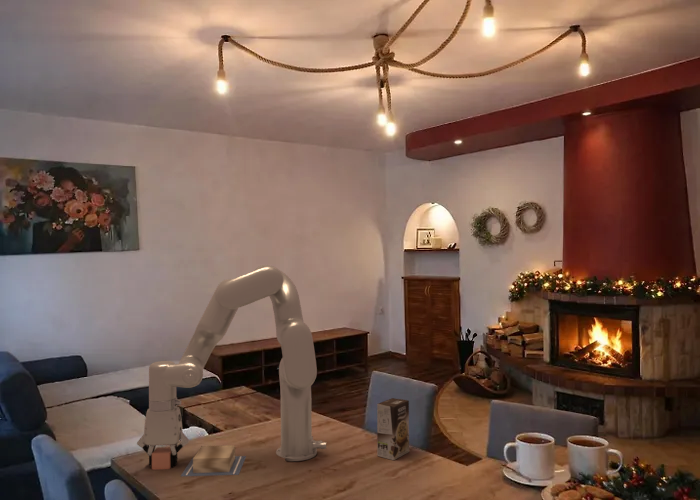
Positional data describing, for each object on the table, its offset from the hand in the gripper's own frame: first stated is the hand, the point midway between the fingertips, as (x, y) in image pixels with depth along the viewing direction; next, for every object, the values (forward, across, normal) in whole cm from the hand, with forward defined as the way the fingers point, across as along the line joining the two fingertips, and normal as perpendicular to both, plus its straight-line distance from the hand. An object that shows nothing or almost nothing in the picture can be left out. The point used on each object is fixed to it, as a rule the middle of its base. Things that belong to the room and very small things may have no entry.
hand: (163, 466), depth 158 cm
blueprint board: (+1, -15, +1) cm, 15 cm away
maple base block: (0, -15, +1) cm, 15 cm away
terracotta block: (+1, 0, 0) cm, 1 cm away
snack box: (+1, -68, -7) cm, 68 cm away
